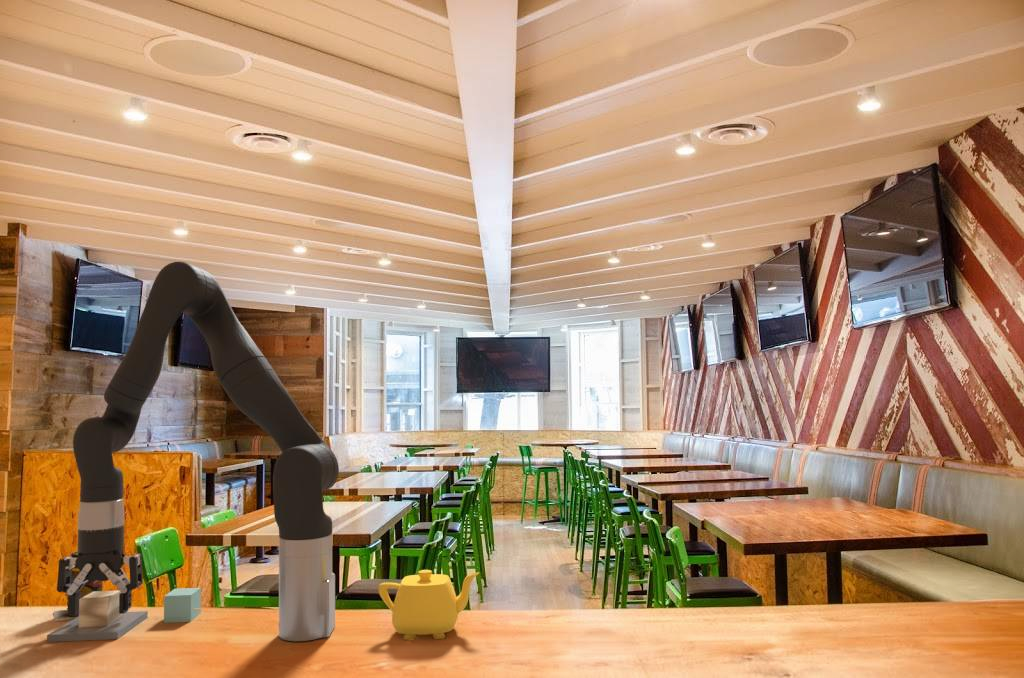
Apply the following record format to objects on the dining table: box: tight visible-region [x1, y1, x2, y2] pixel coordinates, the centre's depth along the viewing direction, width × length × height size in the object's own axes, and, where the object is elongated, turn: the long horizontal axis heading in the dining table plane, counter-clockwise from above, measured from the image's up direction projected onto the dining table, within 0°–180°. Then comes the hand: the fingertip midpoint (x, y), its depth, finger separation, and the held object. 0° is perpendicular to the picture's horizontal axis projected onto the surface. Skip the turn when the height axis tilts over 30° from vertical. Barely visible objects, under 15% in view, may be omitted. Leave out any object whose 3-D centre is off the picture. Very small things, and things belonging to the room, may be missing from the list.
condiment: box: [53, 550, 104, 623], centre depth 143 cm, size 7×8×12 cm
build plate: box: [46, 610, 149, 643], centre depth 133 cm, size 12×12×1 cm
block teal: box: [163, 587, 202, 624], centre depth 139 cm, size 5×5×5 cm
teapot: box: [377, 569, 480, 641], centre depth 128 cm, size 18×11×11 cm, turn 92°
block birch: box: [79, 590, 121, 627], centre depth 133 cm, size 5×5×5 cm
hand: (99, 613), depth 133 cm, fingers open, 8 cm apart
